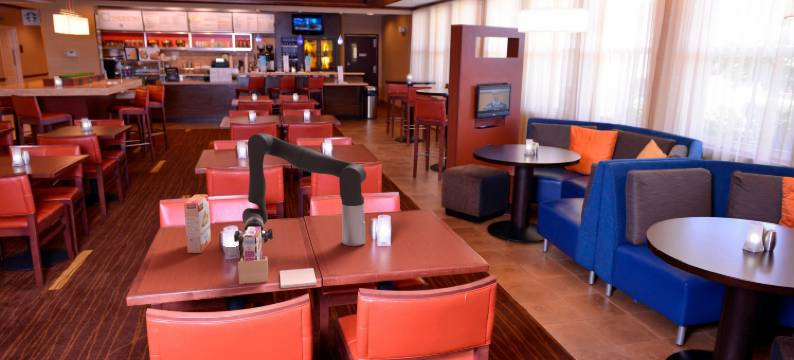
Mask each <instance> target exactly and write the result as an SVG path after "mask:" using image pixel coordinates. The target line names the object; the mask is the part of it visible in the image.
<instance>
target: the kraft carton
mask: <svg viewBox="0 0 794 360" xmlns="http://www.w3.org/2000/svg"><path fill="white" fill-rule="evenodd" d="M237 269H238V283H239V284H238V285H242V284H243V285H244V284H245V283H246V284H257V283H265V282H266V283H268V282H269V260H268V256H266V255H265V256H263V255H262V260H252V261H243V257H241V258H240V261H237Z"/></svg>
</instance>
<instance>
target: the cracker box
mask: <svg viewBox="0 0 794 360" xmlns="http://www.w3.org/2000/svg"><path fill="white" fill-rule="evenodd" d="M209 203H210V201H209V194H194V195H193V196H191V197H190V198H189V199H187V200H186V201H185V202H184V203H183V210H184V221H185V222H184V223H185V235H186V236H185V237H186V248H187V254H202V253H203V252H204V251H205V249H207V247H208V246H209V245H210V244H211V242H212V237H211V220H210V219H211V218H210V207H209V206H210V204H209Z"/></svg>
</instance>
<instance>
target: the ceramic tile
mask: <svg viewBox="0 0 794 360" xmlns="http://www.w3.org/2000/svg"><path fill="white" fill-rule="evenodd" d="M279 276H280V277H279V279H280V289H289V288H297V287H299V288H301V287H311V286H317V285H318V283H317V278H316V275H315V270H314V268H313V267H311V268H310V267H308V268H299V269H285V270H279Z"/></svg>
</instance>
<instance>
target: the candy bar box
mask: <svg viewBox="0 0 794 360" xmlns="http://www.w3.org/2000/svg"><path fill="white" fill-rule="evenodd" d="M242 240H243V245H242V258H243V261H252V260H262V257H263V246H262V245H263V244H262V241H263V240H262V239H261V227H248V228H247V229H246V231H245V233H244V234H243V236H242Z"/></svg>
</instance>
